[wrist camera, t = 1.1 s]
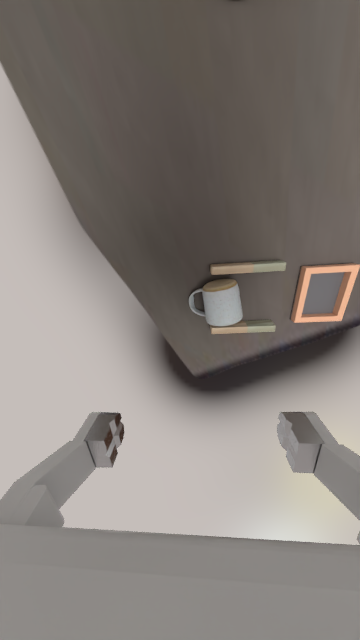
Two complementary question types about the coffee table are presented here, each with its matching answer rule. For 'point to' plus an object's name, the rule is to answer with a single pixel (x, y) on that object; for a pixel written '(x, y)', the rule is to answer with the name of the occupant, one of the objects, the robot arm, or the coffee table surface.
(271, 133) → the coffee table surface
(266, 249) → the coffee table surface
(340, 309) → the frame
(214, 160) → the coffee table surface
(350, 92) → the coffee table surface
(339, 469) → the robot arm
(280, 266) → the channel walls
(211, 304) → the ceramic mug
